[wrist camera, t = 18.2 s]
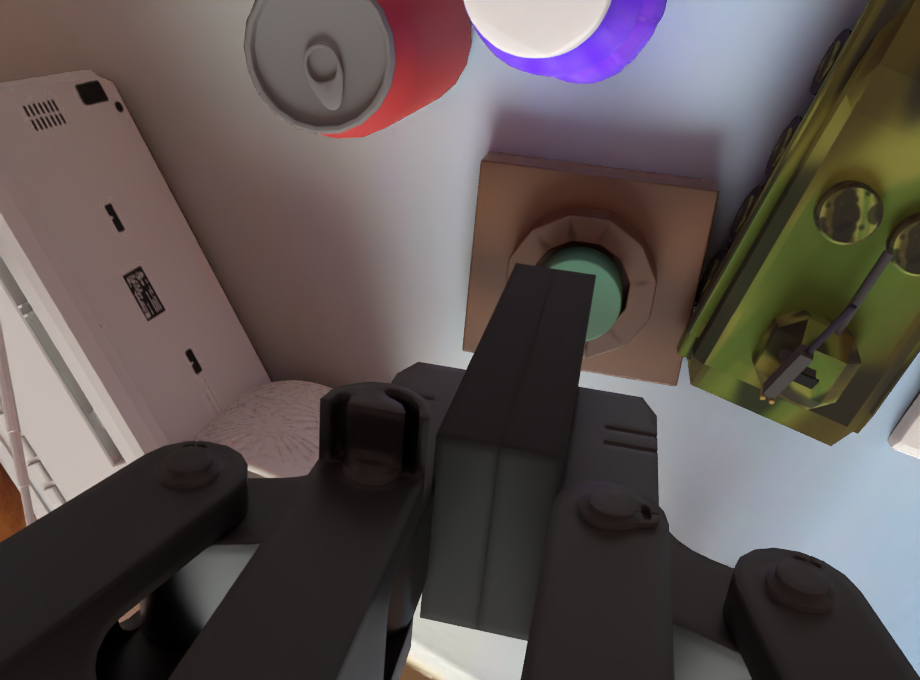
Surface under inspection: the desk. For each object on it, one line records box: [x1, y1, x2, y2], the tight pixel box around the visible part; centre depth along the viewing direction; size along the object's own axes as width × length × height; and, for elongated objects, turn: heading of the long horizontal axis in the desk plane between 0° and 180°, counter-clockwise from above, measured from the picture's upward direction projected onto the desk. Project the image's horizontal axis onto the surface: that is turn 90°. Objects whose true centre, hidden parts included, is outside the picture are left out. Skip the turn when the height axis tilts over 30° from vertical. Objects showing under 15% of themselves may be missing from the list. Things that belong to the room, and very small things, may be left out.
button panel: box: [462, 152, 719, 386], centre depth 41 cm, size 10×11×4 cm
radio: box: [0, 69, 271, 526], centre depth 38 cm, size 21×8×20 cm, turn 24°
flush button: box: [542, 246, 623, 341], centre depth 38 cm, size 4×4×2 cm
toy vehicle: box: [677, 0, 920, 446], centre depth 34 cm, size 9×20×10 cm, turn 159°
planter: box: [191, 380, 333, 478], centre depth 45 cm, size 12×12×11 cm
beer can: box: [244, 0, 472, 138], centre depth 34 cm, size 7×7×12 cm
